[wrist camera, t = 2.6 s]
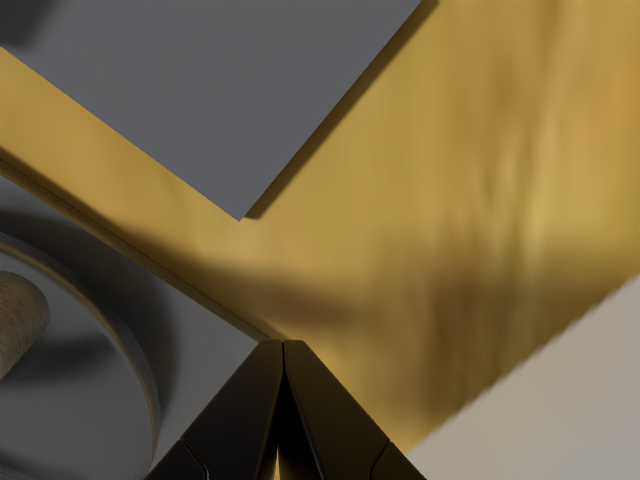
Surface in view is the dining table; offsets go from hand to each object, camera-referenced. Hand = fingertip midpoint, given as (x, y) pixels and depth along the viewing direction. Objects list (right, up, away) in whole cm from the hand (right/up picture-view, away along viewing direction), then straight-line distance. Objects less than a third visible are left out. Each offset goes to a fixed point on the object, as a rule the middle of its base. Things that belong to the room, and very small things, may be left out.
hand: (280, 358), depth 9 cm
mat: (-2, +8, +1) cm, 8 cm away
